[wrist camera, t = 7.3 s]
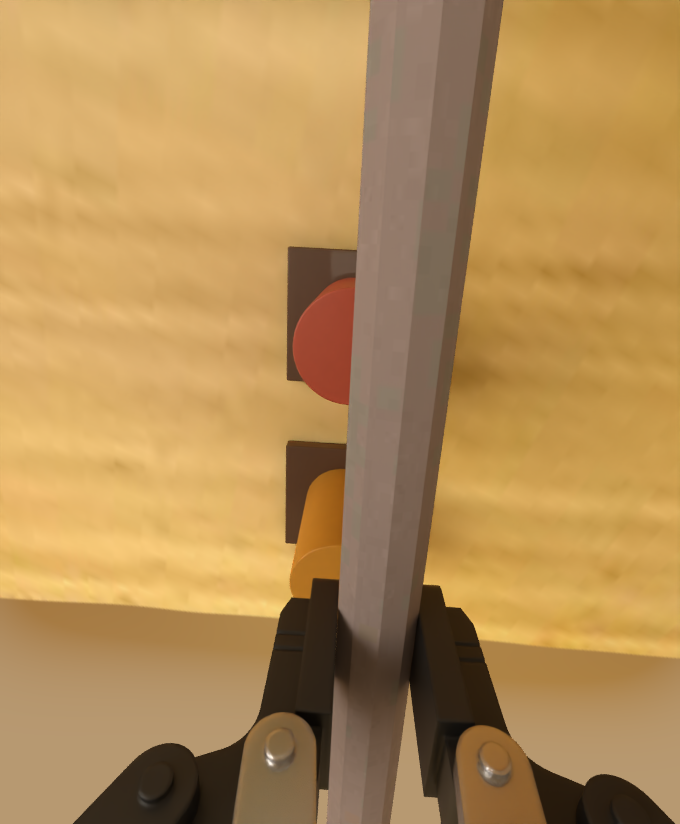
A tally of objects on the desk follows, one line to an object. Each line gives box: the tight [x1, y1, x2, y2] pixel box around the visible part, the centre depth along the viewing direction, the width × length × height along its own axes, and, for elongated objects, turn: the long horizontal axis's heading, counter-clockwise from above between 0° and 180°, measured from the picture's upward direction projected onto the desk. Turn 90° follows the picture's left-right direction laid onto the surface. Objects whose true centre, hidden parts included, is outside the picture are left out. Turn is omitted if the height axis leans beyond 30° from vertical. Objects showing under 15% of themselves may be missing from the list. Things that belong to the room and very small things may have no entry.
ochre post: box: [285, 441, 347, 620], centre depth 23 cm, size 7×7×8 cm
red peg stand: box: [287, 247, 357, 405], centre depth 19 cm, size 7×7×8 cm
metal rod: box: [327, 0, 504, 824], centre depth 11 cm, size 2×27×2 cm, turn 178°
